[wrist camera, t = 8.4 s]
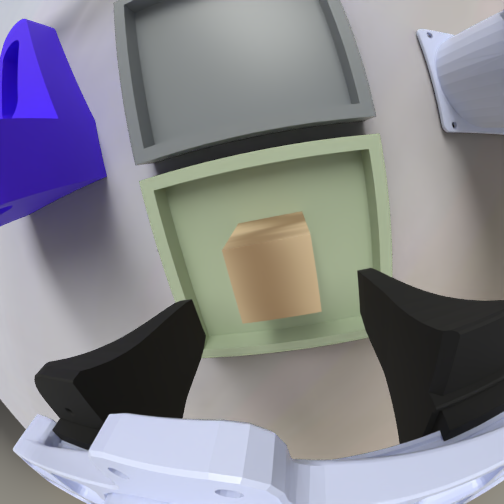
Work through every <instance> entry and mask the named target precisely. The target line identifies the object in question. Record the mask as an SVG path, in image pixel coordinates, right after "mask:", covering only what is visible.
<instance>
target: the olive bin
mask: <svg viewBox="0 0 504 504" xmlns="http://www.w3.org/2000/svg"><path fill="white" fill-rule="evenodd" d="M139 183H140V187H141V191H142V195H143V199H144V203H145V206H146V210H147V214H148V218H149V221H150V225H151V228H152V232H153V235H154V239H155V242H156V245H157V248H158V252H159V255H160V258H161V261H162V264H163V268H164V271H165V274H166V277H167V280H168V283H169V286H170V288H171V291H172V294H173V297H174V300H175V303H176V302H178V301H182V300H189V299H192V300H193V303H194V306H195V308H196V311H197V314H198V316H199V319H200V322H201V324H202V327H203V329H204V332H205V334H206V339H205V345H204V350H203V354H202V357H201V358H215V357H231V356H244V355H256V354H266V353H275V352H284V351H292V350H299V349H306V348H313V347H320V346H326V345H332V344H338V343H343V342H349V341H354V340H359V339H364V338H369V337H368V335H367V333H366V330H365V327H364V324H363V320H362V317H361V314H360V303H359V288H358V275H357V270H362V269H367V268H373V269H376V270H378V271H380V272H382V273H384V274H386V275H388V276H390V277H392V239H391V221H390V208H389V197H388V187H387V179H386V171H385V163H384V157H383V150H382V144H381V139H380V134H369V135H358V136H349V137H340V138H331V139H324V140H316V141H309V142H303V143H297V144H290V145H284V146H279V147H273V148H268V149H263V150H258V151H253V152H248V153H243V154H238V155H234V156H229V157H225V158H221V159H217V160H212V161H208V162H204V163H200V164H197V165H193V166H189V167H185V168H182V169H178V170H174V171H171V172H167V173H164V174H161V175H157V176H154V177H151V178H148V179H144V180H141V181H139ZM300 211H302V213H303V215H304V218H305V221H306V223H307V226H308V229H309V232H310V235H311V241H312V247H313V253H314V260H315V266H316V273H317V280H318V287H319V294H320V302H321V310H322V312H317V313H312V314H306V315H300V316H294V317H287V318H281V319H274V320H267V321H260V322H252V323H245V324H243V323H242V320H241V316H240V313H239V309H238V306H237V303H236V299H235V296H234V292H233V289H232V285H231V282H230V278H229V274H228V271H227V267H226V264H225V260H224V256H223V253H222V249H223V248H224V246H225V244H226V243H227V241H228V239H229V238H230V236H231V234H232V233H233V231H234V229H235V228H236V226H237V225H238V223H243V222H248V221H253V220H258V219H264V218H269V217H274V216H279V215H284V214H290V213H295V212H300Z"/></svg>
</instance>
